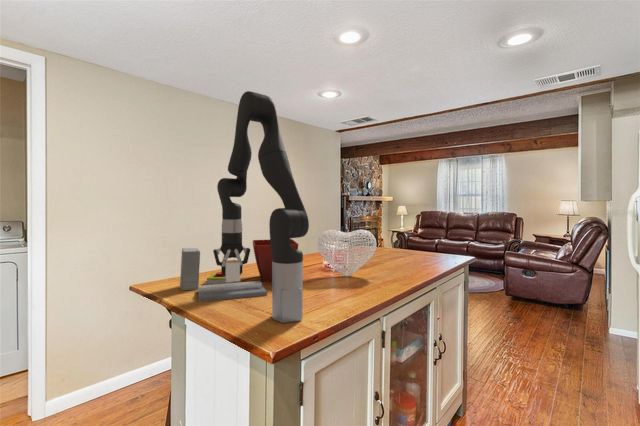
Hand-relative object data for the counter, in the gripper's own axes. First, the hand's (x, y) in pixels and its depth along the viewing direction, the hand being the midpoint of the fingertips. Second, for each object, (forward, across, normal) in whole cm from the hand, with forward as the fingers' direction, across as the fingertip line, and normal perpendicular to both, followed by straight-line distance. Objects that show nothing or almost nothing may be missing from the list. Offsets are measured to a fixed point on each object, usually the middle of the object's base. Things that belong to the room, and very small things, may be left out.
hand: (231, 275), depth 124 cm
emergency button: (+8, +2, -20) cm, 21 cm away
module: (+2, 0, 0) cm, 2 cm away
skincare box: (+7, +15, -14) cm, 22 cm away
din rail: (+5, 0, 0) cm, 5 cm away
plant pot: (+7, -21, -19) cm, 29 cm away
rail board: (+7, 0, 0) cm, 7 cm away
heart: (+7, -54, -11) cm, 56 cm away
